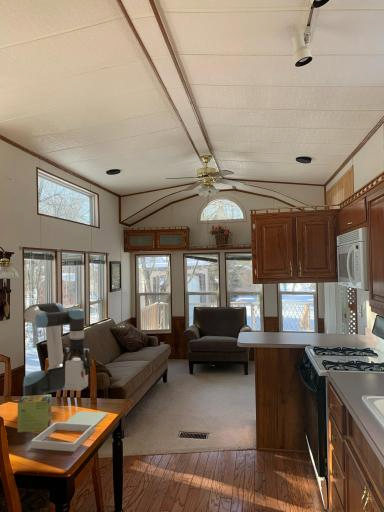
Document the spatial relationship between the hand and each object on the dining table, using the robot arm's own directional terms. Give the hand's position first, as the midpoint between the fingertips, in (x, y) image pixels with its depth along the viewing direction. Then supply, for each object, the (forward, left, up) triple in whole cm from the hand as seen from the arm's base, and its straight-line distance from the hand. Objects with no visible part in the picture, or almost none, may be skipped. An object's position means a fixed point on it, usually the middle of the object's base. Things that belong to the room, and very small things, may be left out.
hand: (76, 380), depth 206 cm
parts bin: (0, -14, -25) cm, 29 cm away
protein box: (-23, -3, -25) cm, 34 cm away
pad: (0, +10, -25) cm, 27 cm away
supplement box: (0, 0, -4) cm, 4 cm away
